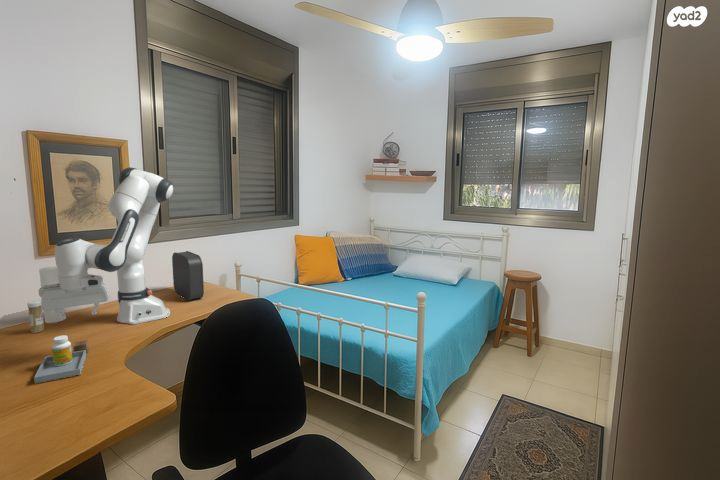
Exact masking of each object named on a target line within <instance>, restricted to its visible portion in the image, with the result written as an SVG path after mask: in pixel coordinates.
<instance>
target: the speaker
mask: <svg viewBox="0 0 720 480" xmlns="http://www.w3.org/2000/svg"><path fill="white" fill-rule="evenodd" d="M171 257H172V258H171V261H172V265H171V266H172V280H173V282H172V283H173V289H174V292H175V293H177V294H176V295H178V296H179V295H180V296H179V297H181V296H182V297H184V298H185V300H186V299H187V300H189V301H191V300H196V299H202V298H203V297H204V294H205V293H204V292H205V289H204V287H205V286H204V265H203V260H202V258H201V256H200V255H199V254H196V253H194V252H191V251H188V250H186V251H181V252H173V253H172V256H171ZM182 297H181V298H182ZM184 298H183V299H184ZM187 300H186V301H187Z"/></svg>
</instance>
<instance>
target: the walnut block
mask: <svg viewBox="0 0 720 480" xmlns="http://www.w3.org/2000/svg"><path fill="white" fill-rule="evenodd" d="M72 346H73V352H77V351H83V350H86V355H88V353H89V342H88V340H80V341H74V343H73V345H72Z"/></svg>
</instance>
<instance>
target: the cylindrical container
mask: <svg viewBox="0 0 720 480" xmlns="http://www.w3.org/2000/svg"><path fill="white" fill-rule="evenodd" d="M38 272H39V279H40V280H39V281H40V288H41V287H43V286H45V285H53V284H59V281H58V267H57V266H46V267H45V266H44V267H41V268H39V269H38ZM42 289H43V288H42ZM60 312H61V313H62V314H65V308H62V309H61V310H60ZM43 314H44V315H43V316H44V322H45V323H46V324H56V323H59V322H62V321H64V320H61V319H60V316H59V315H58V314H57V313H56V312H55V310H49V311H44V310H43Z"/></svg>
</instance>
